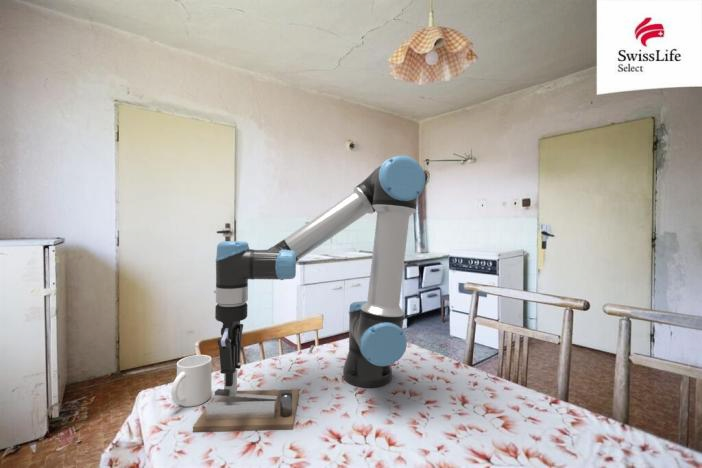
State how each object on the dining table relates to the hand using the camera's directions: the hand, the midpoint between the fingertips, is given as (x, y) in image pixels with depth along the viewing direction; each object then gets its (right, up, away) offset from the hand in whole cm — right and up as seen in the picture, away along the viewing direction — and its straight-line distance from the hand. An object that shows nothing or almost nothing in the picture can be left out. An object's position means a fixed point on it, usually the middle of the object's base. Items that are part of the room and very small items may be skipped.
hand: (230, 396), depth 82 cm
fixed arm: (+7, -2, -5) cm, 8 cm away
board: (+6, -3, -1) cm, 7 cm away
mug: (-12, -3, +3) cm, 12 cm away
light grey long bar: (+5, -2, -2) cm, 5 cm away
